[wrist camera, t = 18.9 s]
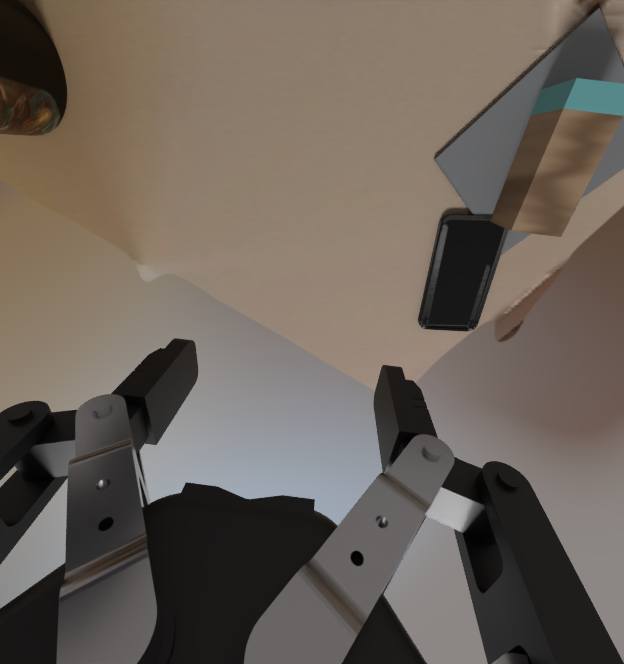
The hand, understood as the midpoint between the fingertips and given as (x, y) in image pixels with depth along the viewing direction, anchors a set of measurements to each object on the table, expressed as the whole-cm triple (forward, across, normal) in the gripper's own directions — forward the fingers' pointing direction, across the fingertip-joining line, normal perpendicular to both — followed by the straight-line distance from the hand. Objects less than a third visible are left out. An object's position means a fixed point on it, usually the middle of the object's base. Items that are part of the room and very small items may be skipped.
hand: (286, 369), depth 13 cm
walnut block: (+25, -22, -3) cm, 33 cm away
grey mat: (+28, -22, -10) cm, 37 cm away
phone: (+29, -18, +4) cm, 34 cm away
